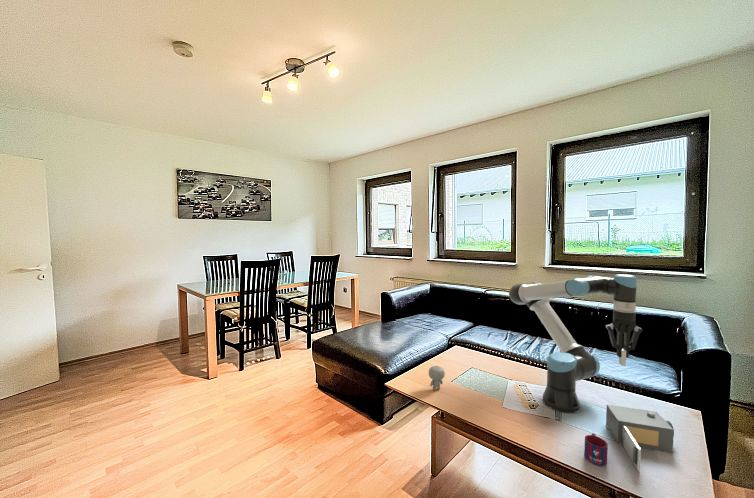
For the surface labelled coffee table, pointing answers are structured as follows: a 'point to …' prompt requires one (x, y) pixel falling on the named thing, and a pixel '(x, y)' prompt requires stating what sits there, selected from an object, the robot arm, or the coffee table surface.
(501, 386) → the coffee table surface
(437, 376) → the figurine
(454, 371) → the coffee table surface
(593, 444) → the mug
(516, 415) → the coffee table surface
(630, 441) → the side door
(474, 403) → the coffee table surface
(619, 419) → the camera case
